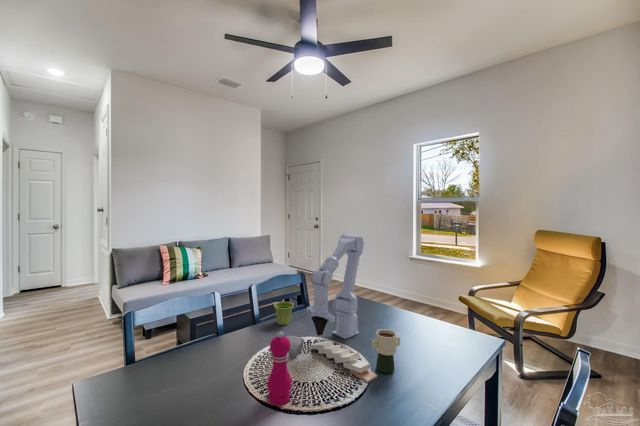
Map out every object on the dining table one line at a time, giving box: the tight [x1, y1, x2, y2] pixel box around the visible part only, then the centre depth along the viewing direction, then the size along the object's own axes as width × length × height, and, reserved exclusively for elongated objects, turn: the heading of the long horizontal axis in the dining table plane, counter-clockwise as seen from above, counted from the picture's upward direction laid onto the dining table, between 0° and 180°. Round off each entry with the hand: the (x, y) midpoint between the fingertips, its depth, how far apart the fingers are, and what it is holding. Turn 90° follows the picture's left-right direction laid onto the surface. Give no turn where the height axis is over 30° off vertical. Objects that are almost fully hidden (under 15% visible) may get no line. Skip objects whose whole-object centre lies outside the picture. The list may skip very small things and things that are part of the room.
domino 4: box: [333, 351, 361, 364], centre depth 107 cm, size 5×2×8 cm
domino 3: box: [325, 348, 351, 359], centre depth 110 cm, size 5×2×8 cm
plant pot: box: [273, 301, 295, 326], centre depth 143 cm, size 9×9×9 cm
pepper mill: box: [266, 331, 293, 406], centre depth 87 cm, size 7×7×20 cm
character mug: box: [371, 328, 401, 374], centre depth 104 cm, size 11×7×13 cm, turn 107°
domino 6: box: [349, 369, 378, 383], centre depth 101 cm, size 5×2×8 cm
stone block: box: [285, 335, 304, 359], centre depth 117 cm, size 12×5×10 cm
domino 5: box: [342, 358, 371, 373], centre depth 103 cm, size 5×2×8 cm
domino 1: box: [310, 340, 335, 350], centre depth 116 cm, size 5×2×8 cm
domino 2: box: [317, 344, 343, 355], centre depth 113 cm, size 5×2×8 cm
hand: (319, 334), depth 117 cm, fingers closed
